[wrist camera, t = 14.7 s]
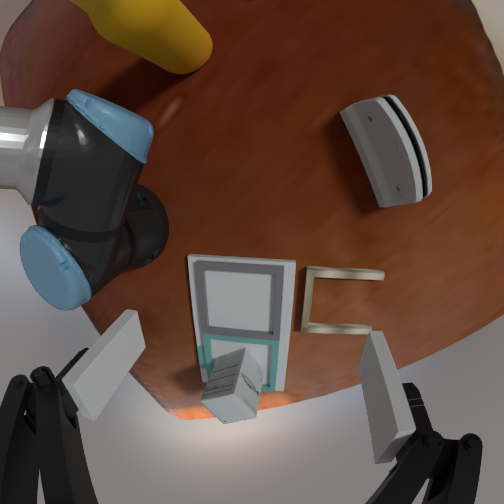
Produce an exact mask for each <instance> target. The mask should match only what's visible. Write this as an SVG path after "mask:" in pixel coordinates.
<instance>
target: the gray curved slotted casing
mask: <svg viewBox="0 0 504 504" xmlns="http://www.w3.org/2000/svg"><path fill="white" fill-rule="evenodd" d="M339 113H340V115H341V117H342V119H343V121H344V123H345V125H346V127H347V129H348V131H349V133H350V136H351V138H352V140H353V142H354V144H355V147H356V149H357V151H358V154H359V156H360V158H361V161H362V163H363V165H364V168H365V170H366V173H367V175H368V178H369V180H370V183H371V186H372V188H373V191H374V194H375V196H376V199H377V202H378V205H379V207H383V208H386V207H390V206H395V205H403V204H412V203H416V202H420V201H421V200H422V198H426V197H427V196H428V195H429V194H430V193H431V191H432V180H431V171H430V165H429V161H428V157H427V153H426V150H425V147H424V144H423V141H422V139H421V136H420V134H419V132H418V130H417V128H416V126H415V124H414V122H413V120H412V118H411V117H410V115H409V114H408V112H407V110H406V109H405V108H404V106H403V105H402V104H401V102H400V101H399V100H398V99H397V97H395V96H394V95H383V96H379V97H375V98H371V99H367V100H363V101H360V102H357V103H353V104H352V105H350V106H348V107H347V108H345V109H343V110H341V111H340V112H339Z"/></svg>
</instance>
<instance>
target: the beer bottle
mask: <svg viewBox="0 0 504 504" xmlns="http://www.w3.org/2000/svg"><path fill="white" fill-rule="evenodd" d="M70 1H71V2H73V3H74V4H76V5H77V6H79V7H80V8H82V9H83V10H84V11H86V12H87V13H88V14H89V16H90V19H91V21H92V24H93V26H94V27H95V29H96V30H97V32H98V33H99V34H100V35H101V36H102V37H103V38H105V39H106V40H107V41H109V42H111V43H113V44H116V45H118V46H120V47H122V48H124V49H126V50H129V51H131V52H133V53H135V54H137V55H139V56H141V57H143V58H145V59H147V60H148V61H150V62H152V63H154V64H156V65H158V66H160V67H161V68H163V69H164V70H166V71H168V72H171V73H174V74H187V73H191V72H193V71H196V70H197V69H199V68H200V67H202V66H203V65H204V64H205V63H206V62H207V60H208V59H209V57H210V55H211V53H212V48H213V44H212V39H211V37H210V35H209V33H208V32H207V31H206V30H205V29H204V28H203V27H202V26H201V24H200V23H199V22H198V21H197V20H196V19H195V17H194V16H193V15H192V14H191V13H190V12H189V11H188V9H187V8H186V7H185V6H184V5H183V4H182V3H181V2H180V0H70Z"/></svg>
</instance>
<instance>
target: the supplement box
mask: <svg viewBox="0 0 504 504" xmlns="http://www.w3.org/2000/svg"><path fill="white" fill-rule="evenodd" d="M263 377H264V370H263V369H262V367H261V366H260V365H259V364H258V363H257V361H256V360H255V359H254V357H253V356H252V355H251V353H250V352H249V350H248V349H247V348H243V349H240V350H237V351H234V352H231V353H228V354H226V355H223V356H220V357H218V358H217V360H216V362H215V365H214V367H213V370H212V372H211V375H210V377H209V380H208V382H207V385H206V387H205V390H204V392H203V395H202V397H201V399H200V402H201V403H202V404H203V405H204V406H205V407H206V408H207V409H208V410H209V411H210V412H211V413H212V414H213V415H215V416H216V417H217V418H218V419H219V420H220V421H221V422H222V423H223V424H226V423H232V422H237V421H242V420H247V419H252V418H255V417H256V414H257V409H258V404H259V399H260V393H261V388H262V383H263Z"/></svg>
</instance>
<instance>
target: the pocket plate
mask: <svg viewBox="0 0 504 504" xmlns="http://www.w3.org/2000/svg"><path fill="white" fill-rule="evenodd" d="M188 268H189V279H190V289H191V299H192V308H193V317H194V326H195V334H196V341H197V350H198V357H199V364H200V370H201V376H202V382H208V380H209V377H210V375H211V372H212V370H213V367H214V365H215V362H216V360H217V358H218V357H220V356H223V355H226V354H228V353H231V352H234V351H237V350H240V349H243V348H247V349H248V350H249V352H250V353H251V355H252V356H253V357H254V359H255V360H256V361H257V363H258V364H259V365H260V366H261V367H262V369H263V370H264V377H263V383H262V388H261V391H267V392H275V391H284V383H285V375H286V366H287V357H288V348H289V338H290V328H291V317H292V306H293V294H294V281H295V268H296V260H282V259H265V258H247V257H230V256H214V255H197V254H189V255H188Z"/></svg>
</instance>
